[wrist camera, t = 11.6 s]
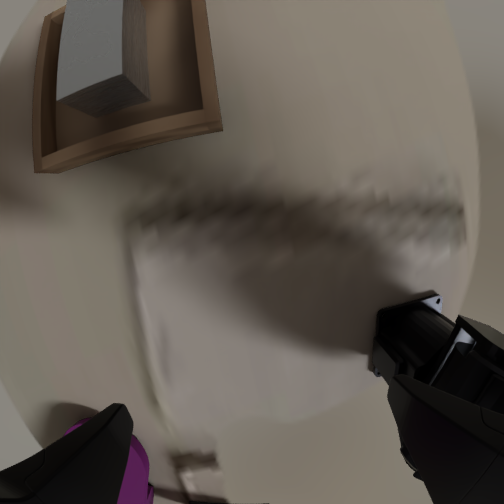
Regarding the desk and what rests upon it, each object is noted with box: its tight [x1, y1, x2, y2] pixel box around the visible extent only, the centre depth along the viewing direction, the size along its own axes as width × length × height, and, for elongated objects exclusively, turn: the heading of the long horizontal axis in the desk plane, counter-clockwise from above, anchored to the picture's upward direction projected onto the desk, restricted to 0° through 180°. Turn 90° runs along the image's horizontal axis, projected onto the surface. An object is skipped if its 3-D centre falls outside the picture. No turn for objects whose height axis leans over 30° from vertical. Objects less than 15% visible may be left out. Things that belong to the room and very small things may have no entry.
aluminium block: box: [56, 0, 151, 118], centre depth 12 cm, size 8×4×5 cm, turn 9°
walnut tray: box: [32, 0, 223, 173], centre depth 14 cm, size 13×14×3 cm
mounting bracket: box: [64, 418, 154, 504], centre depth 22 cm, size 9×8×18 cm
